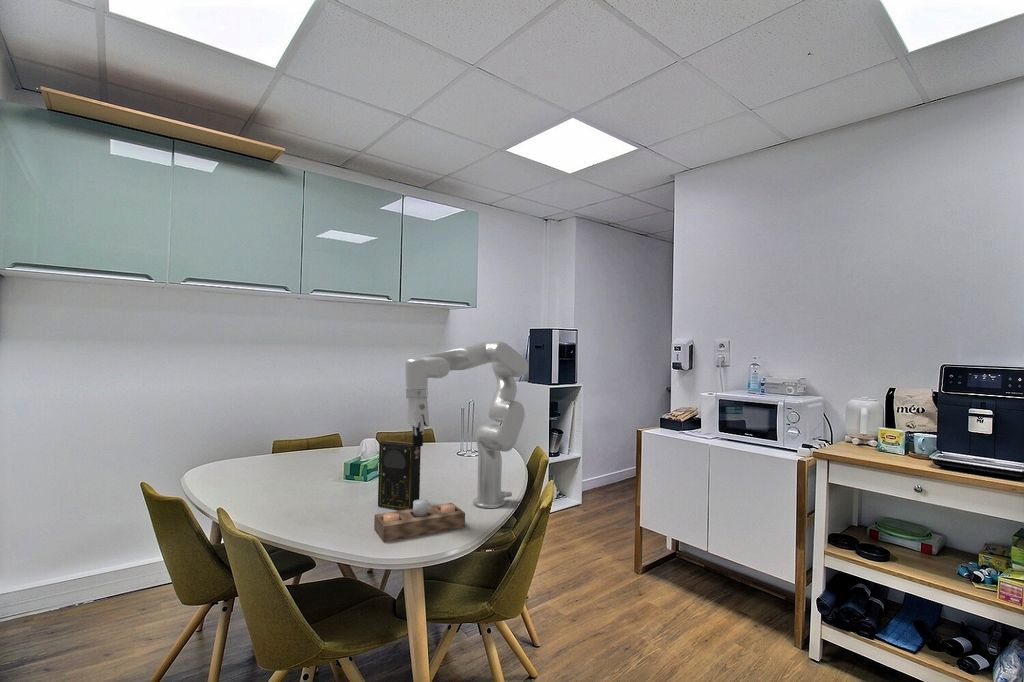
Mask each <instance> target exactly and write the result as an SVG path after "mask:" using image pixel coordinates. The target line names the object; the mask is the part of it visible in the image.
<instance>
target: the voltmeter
mask: <svg viewBox="0 0 1024 682" xmlns="http://www.w3.org/2000/svg"><path fill="white" fill-rule="evenodd" d="M378 445H379V446H378V447H379V449H378V450H379V451H378V484H377V485H378V487H377V490H378V491H377V506H378V507H379V508H386V509H392V510H396V511H401V510H408V509H413V501H415V500H419V499H420V496H421V495H420V494H421V492H420V491H421V489H420V487H421V483H420V482H421V450H422V449H421V448H422V446H419V447H414V446H413V441H412V442H411V441H403V440H402V441H400V440H391V439H390V440H383V441H380V442H379V444H378Z"/></svg>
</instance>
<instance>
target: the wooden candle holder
mask: <svg viewBox="0 0 1024 682" xmlns="http://www.w3.org/2000/svg"><path fill="white" fill-rule="evenodd" d="M445 504H452V505H455V504H454V503H453V502H448V503H441V504H436V505H428V516H423V517H417V518H414V517H413V509H408V510H396V511H389V512H383V513H377V514H374V521H373V522H374V527H373V530H374V531H375V532H376V535H378V537H379V538H380V540H381V541H382V542H383V543H388V542H393V541H398V540H403V539H409V538H415V537H420V536H425V535H431V534H435V533H436V534H437V533H442V532H448V531H452V530H458V529H463V528H466V512H465V511H463V510H462V509H461V508H460V507H458V506H457V505H455V511H454V512H448V513H442V512H441V506H442V505H445ZM387 513H398V514H399V521H393V522H386V523H384V521H383V519H384V515H385V514H387Z"/></svg>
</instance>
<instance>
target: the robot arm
mask: <svg viewBox="0 0 1024 682" xmlns="http://www.w3.org/2000/svg"><path fill="white" fill-rule="evenodd" d="M490 363H491V368H492V371H493V373H494V376H495V379H496V389H495V392H494V395H493V397H492V400H491V403H490V406H489V408H488V417H489V419H490V420H491V421H493V422H496V423H501V425H500V424H499V425H498V424H494V423H484V424H481V425H480V426H479V427H478V428H477V431H476V434H475V441H476V447H477V485H476V487H477V488H476V489H477V492H476V495H477V496H476V497H475V498H474V499H473V501H472V503H473V505H474V506H476V507H478V508H483V509H495V508H496V509H497V508H500V507H503V506H504V505H505V502H506V500H505V498H509V497H512V496H513V495H512V493H513V492H512V491H506V490H503V491H502V468H503V467H502V466H503V461H502V460H503V459H502V453H501V452H509V451H512V450H513V448H515V446H516V443H517V441H518V439H519V435H520V433H521V429H522V427H523V424H524V421H525V416H526V415H525V414H526V411H525V407H524V405H523V403H521V402H520V401H517V400H515V399H516V397H517V396H516V395H517V391H518V386H517V382H516V379H515V378H522V377H523V376H526V374H527V373H528V370H529V365H528V361H527V359H526V358H525V357H524V356H523V355H522V354H520V353H519V351H517V350H516V349H514V348H513V347H512V346H510V345H509V344H507V343H506V342H504V341H499V340H498V341H496V340H495V341H493V340H492V341H491V340H489V341H483V342H480V343H475V344H472V345H467V346H464V347H460V348H455V349H451V350H446V351H445V350H444V351H439V352H436V353H432V354H429V355H425V356H422V357H420V358H407V360H406V361H405V399H406V400H407V423H408V424H409V426H410V427H411V433H412V443H413V446H414V447H419V446H421V447H423V445H424V436H423V435H424V432H425V427H429V426H430V413H429V403H428V398H429V390H428V388H429V387H428V386H429V385H428V384H429V383H428V379H443V378H445V377H447V376H448V375H449V374H450V372H451V371H464V370H471V369H473V368H476V367H479V366H482V365H483V366H484V365H486V364H490Z"/></svg>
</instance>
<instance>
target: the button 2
mask: <svg viewBox="0 0 1024 682" xmlns="http://www.w3.org/2000/svg"><path fill="white" fill-rule="evenodd" d="M444 504H445V505H442V506H441V512H442V513H448V512H454V511H455V506H456V505H455V504H454V505H452V504H447V503H444Z"/></svg>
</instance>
